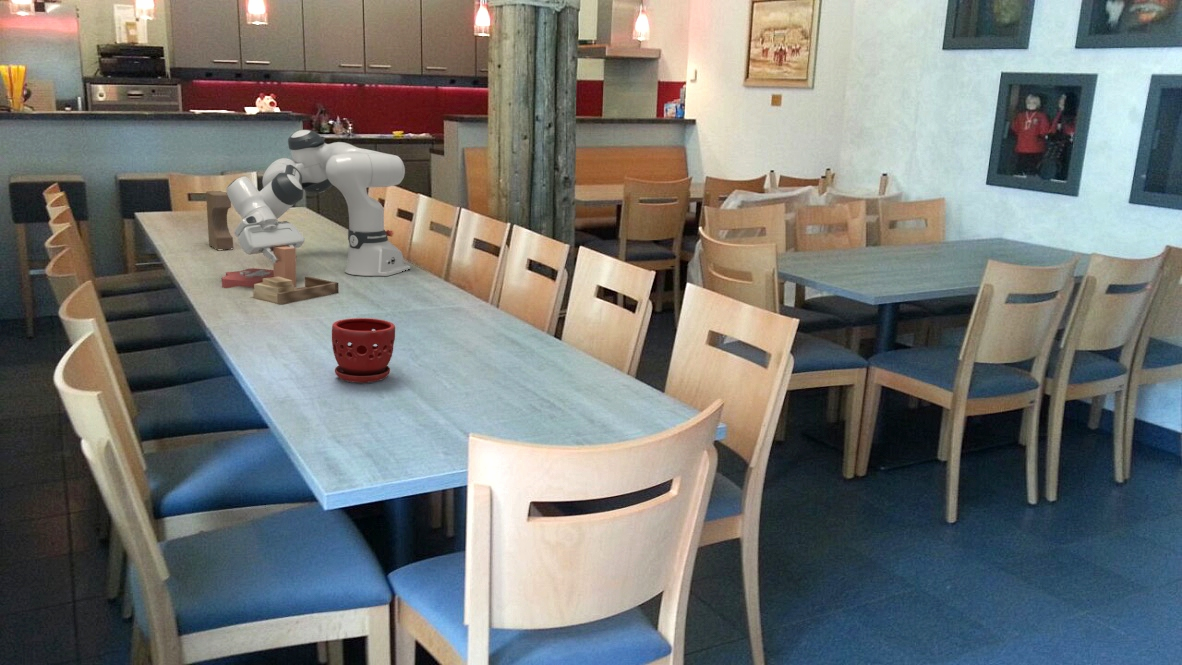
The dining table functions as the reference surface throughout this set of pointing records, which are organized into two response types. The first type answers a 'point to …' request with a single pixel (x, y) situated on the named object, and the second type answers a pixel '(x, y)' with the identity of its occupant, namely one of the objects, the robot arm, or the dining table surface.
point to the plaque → (246, 277)
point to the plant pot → (362, 349)
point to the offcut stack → (272, 288)
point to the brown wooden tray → (307, 291)
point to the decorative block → (218, 220)
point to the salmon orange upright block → (285, 263)
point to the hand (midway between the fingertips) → (285, 260)
